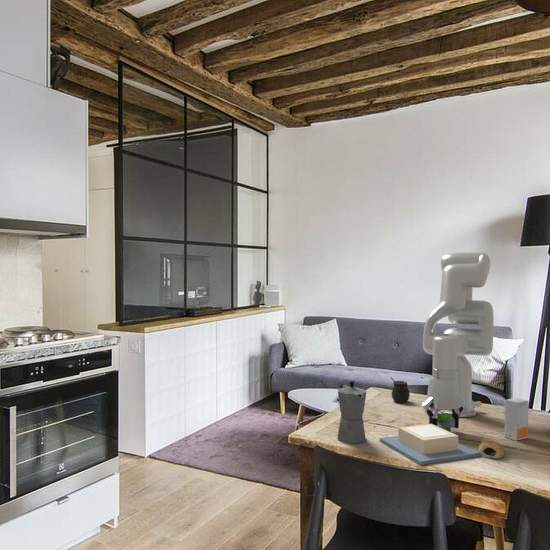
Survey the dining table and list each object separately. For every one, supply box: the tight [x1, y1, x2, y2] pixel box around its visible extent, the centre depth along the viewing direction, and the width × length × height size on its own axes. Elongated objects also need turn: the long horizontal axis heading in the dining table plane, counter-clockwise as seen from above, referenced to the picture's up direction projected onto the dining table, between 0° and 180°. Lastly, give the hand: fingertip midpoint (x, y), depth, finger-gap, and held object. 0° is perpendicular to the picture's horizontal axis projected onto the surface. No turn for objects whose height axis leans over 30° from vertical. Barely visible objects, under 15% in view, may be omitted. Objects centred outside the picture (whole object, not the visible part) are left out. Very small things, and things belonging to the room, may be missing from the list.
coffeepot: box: [337, 380, 367, 444], centre depth 151 cm, size 15×9×18 cm, turn 16°
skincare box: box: [504, 397, 529, 442], centre depth 152 cm, size 6×4×12 cm
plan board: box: [379, 423, 481, 466], centre depth 142 cm, size 20×20×5 cm
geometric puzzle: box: [436, 411, 456, 433], centre depth 157 cm, size 7×7×8 cm
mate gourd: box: [390, 377, 410, 404], centre depth 196 cm, size 7×8×10 cm
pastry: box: [476, 440, 505, 460], centre depth 139 cm, size 9×7×4 cm
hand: (444, 428), depth 157 cm, fingers closed on geometric puzzle, 7 cm apart
